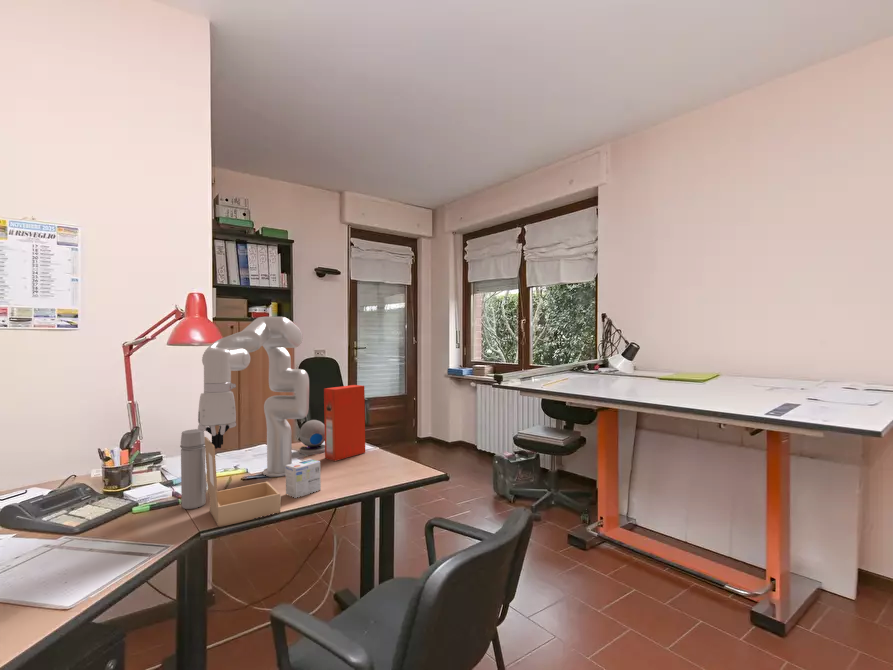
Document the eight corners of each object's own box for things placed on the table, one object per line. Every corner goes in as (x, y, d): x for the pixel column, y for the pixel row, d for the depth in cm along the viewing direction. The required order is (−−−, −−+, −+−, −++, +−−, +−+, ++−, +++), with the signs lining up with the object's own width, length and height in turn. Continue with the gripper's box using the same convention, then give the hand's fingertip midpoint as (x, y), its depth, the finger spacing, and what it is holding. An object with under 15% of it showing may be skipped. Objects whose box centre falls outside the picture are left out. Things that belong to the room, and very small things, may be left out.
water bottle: (175, 508, 148) (174, 432, 148) (196, 500, 156) (195, 428, 155) (195, 512, 145) (194, 435, 145) (216, 503, 152) (215, 429, 152)
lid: (209, 491, 146) (207, 492, 146) (206, 436, 145) (204, 437, 145) (218, 506, 134) (215, 506, 133) (214, 446, 133) (212, 446, 133)
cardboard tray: (209, 511, 146) (209, 492, 146) (267, 498, 157) (267, 481, 157) (218, 527, 134) (218, 507, 134) (280, 512, 145) (280, 493, 145)
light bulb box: (310, 486, 169) (310, 457, 169) (321, 490, 165) (321, 461, 164) (284, 494, 161) (284, 464, 160) (295, 499, 156) (295, 468, 156)
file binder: (324, 458, 206) (324, 388, 206) (354, 450, 220) (353, 384, 219) (335, 461, 201) (334, 389, 201) (365, 453, 215) (364, 385, 214)
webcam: (323, 446, 228) (323, 416, 228) (330, 452, 217) (330, 421, 216) (297, 449, 221) (296, 419, 221) (302, 456, 210) (302, 423, 210)
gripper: (240, 386, 148) (240, 442, 148) (188, 389, 139) (188, 448, 139) (246, 387, 142) (246, 446, 142) (191, 391, 133) (191, 453, 133)
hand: (217, 447), depth 140 cm, fingers closed
